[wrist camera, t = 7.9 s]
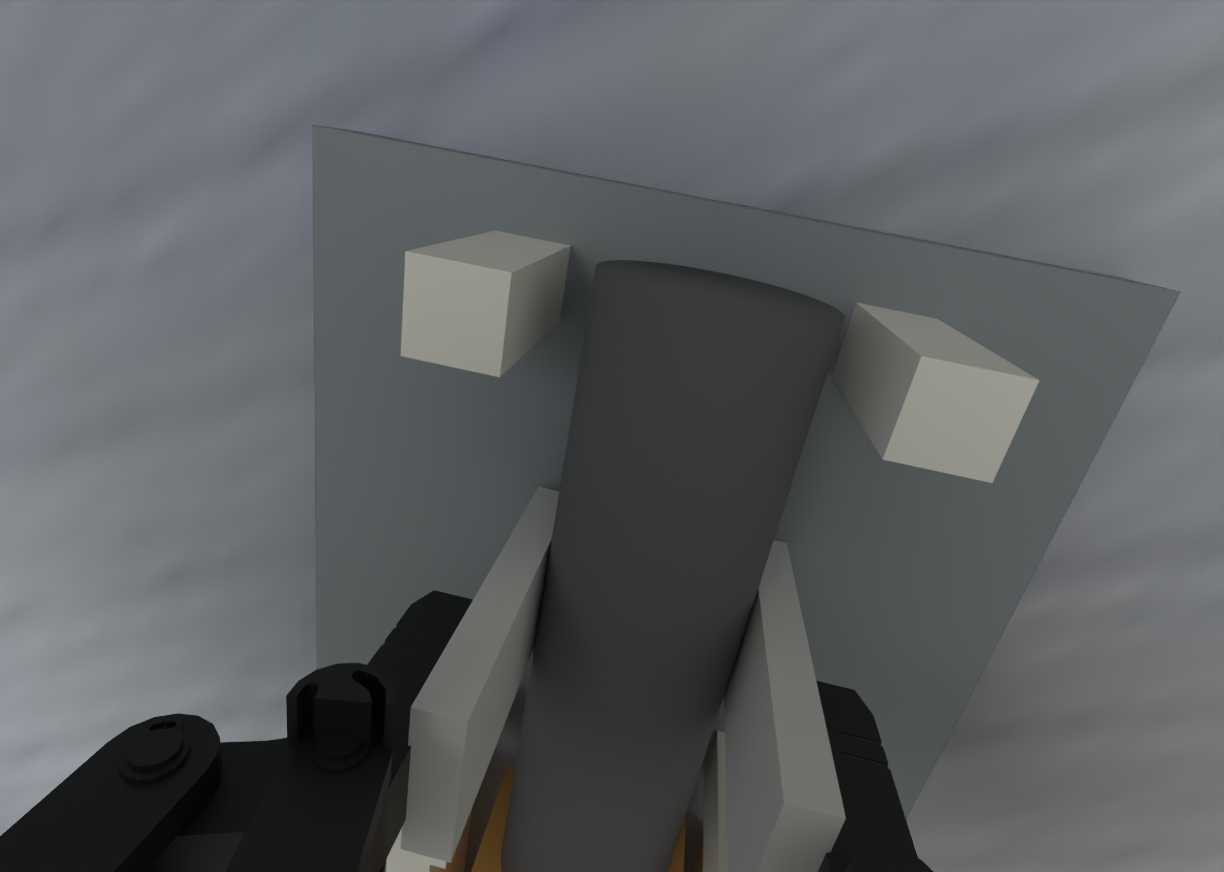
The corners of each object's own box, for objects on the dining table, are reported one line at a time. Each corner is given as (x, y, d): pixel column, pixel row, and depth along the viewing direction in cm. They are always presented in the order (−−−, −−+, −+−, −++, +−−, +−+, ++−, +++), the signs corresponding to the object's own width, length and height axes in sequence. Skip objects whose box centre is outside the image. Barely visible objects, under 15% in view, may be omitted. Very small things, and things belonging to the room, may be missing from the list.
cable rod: (588, 246, 12) (516, 285, 8) (849, 298, 12) (936, 370, 7) (490, 878, 20) (424, 1090, 15) (650, 920, 19) (631, 1151, 15)
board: (352, 130, 14) (139, 100, 8) (1128, 279, 12) (1414, 345, 7) (343, 825, 22) (234, 1018, 17) (804, 948, 21) (834, 1191, 16)
